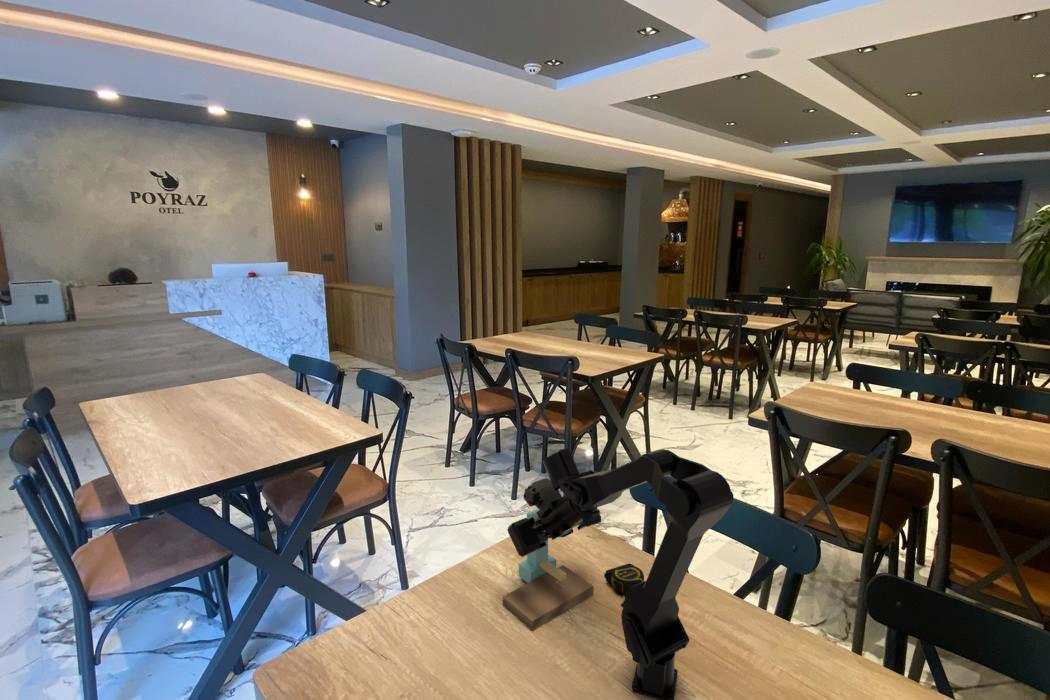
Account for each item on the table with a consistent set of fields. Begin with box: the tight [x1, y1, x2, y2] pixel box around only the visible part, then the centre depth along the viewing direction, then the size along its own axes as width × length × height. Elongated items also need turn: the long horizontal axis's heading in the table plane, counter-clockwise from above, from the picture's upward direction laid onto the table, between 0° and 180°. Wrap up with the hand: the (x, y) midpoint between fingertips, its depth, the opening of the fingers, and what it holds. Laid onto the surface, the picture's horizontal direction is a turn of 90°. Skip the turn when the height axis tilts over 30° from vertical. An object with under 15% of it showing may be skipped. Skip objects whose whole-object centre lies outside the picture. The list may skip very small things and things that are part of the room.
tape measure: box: [603, 563, 645, 595], centre depth 109 cm, size 7×7×4 cm
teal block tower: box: [518, 508, 567, 584], centre depth 109 cm, size 7×10×14 cm
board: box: [502, 565, 595, 632], centre depth 106 cm, size 16×9×2 cm, turn 129°
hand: (533, 538), depth 112 cm, fingers closed on teal block tower, 3 cm apart
